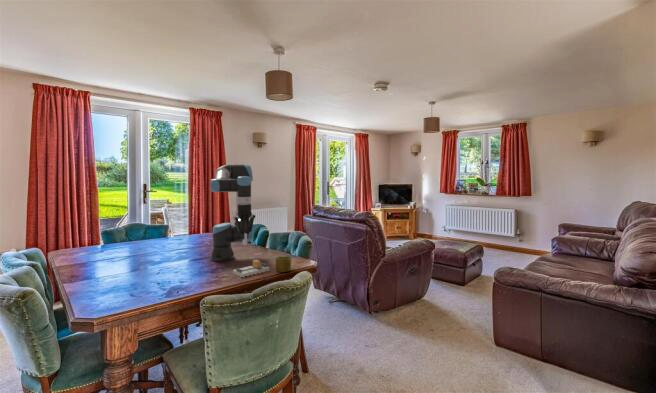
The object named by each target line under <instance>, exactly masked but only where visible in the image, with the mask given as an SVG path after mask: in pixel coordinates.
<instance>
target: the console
mask: <svg viewBox="0 0 656 393" xmlns="http://www.w3.org/2000/svg"><path fill="white" fill-rule="evenodd" d="M265 271H267V272H270V267H269V266H267V263H264V262H261V261H260V267H259V268H255V267H253V265H249V266H245V267H241V268H239V267H236V268H235V269H233V270H232V274H233V273H234V274H233V275H235V274H236V276H237V275H238V277H239V276H240V277H239V278H241V277H243V278H246V277H245V276H247V277H250V276H249V275H251V276H253V275H252V274H255V275H257V274H256V273H259V274H262V273H261V272H263V273H266V272H265Z"/></svg>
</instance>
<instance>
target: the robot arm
mask: <svg viewBox="0 0 656 393" xmlns="http://www.w3.org/2000/svg"><path fill="white" fill-rule="evenodd" d="M253 176H254V175H253V171H252V167H251V165H249V164H224V165H222V166H220V167H218V168H216V170H215V171H214V178H212V179H210V191H211V192H212V193H235V199H236V200H235V206H236V208H235V209H236V210H235V212H236V215H235V216H233V217H232V218H233V219H234V222H233V223H234V224H232V223H230V222H223V223H219V224H218V223H217V224H215V225H214V226H213V227H212V232H211V233H212V250H211V252H210V253H211V254H210V255H209V256H210V260H211V261H213V262H225V261H226V262H228V261H231V260H233V259H234V258H235V254H234V253H235V252H234V250H233V247H232V243H242V245H243V246H247V245H248V242H252V241H253V238H254V232H255V224H254V220H255V218H256V214H253V212H252V182H253V179H254V178H253Z"/></svg>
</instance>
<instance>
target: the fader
mask: <svg viewBox="0 0 656 393" xmlns="http://www.w3.org/2000/svg"><path fill="white" fill-rule="evenodd" d="M260 263H261V261H260V260H259V259H253V260H252V266H253V267H255V268H259V267H260Z"/></svg>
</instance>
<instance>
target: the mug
mask: <svg viewBox="0 0 656 393" xmlns="http://www.w3.org/2000/svg"><path fill="white" fill-rule="evenodd" d="M275 268H276V271H278V272H277V273H286V272H287V273H288V272H289V271H290V272H291V271H292V256H287V255H283V256H277V257H275Z"/></svg>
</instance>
